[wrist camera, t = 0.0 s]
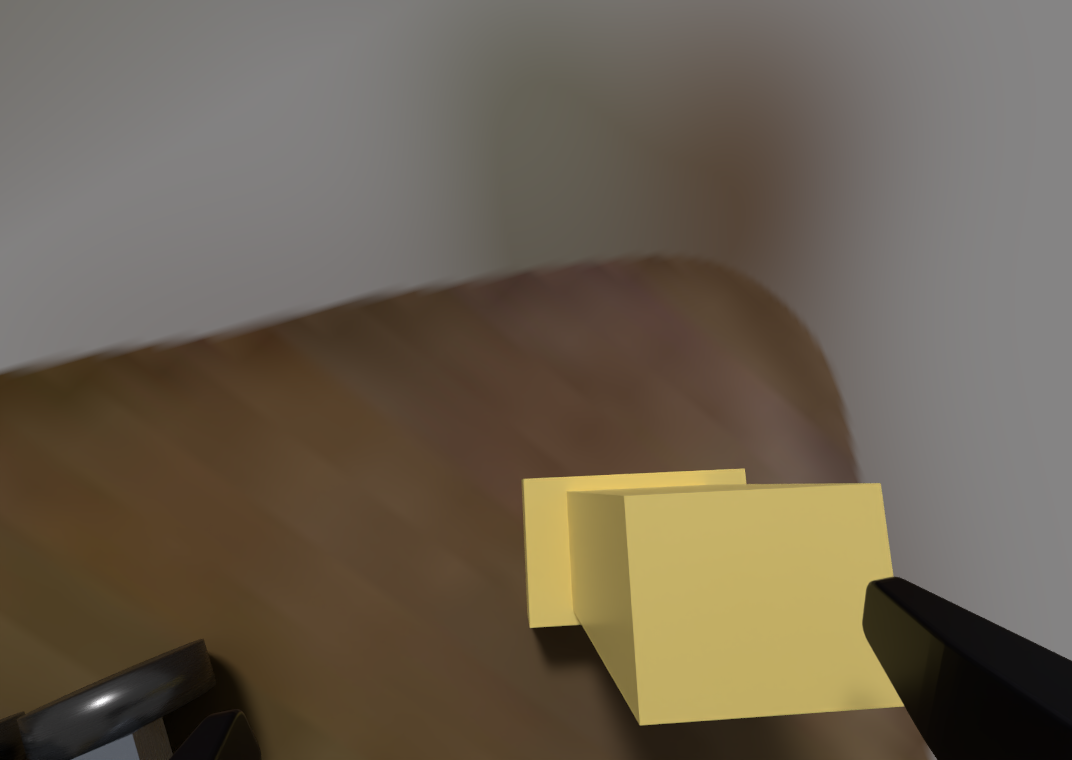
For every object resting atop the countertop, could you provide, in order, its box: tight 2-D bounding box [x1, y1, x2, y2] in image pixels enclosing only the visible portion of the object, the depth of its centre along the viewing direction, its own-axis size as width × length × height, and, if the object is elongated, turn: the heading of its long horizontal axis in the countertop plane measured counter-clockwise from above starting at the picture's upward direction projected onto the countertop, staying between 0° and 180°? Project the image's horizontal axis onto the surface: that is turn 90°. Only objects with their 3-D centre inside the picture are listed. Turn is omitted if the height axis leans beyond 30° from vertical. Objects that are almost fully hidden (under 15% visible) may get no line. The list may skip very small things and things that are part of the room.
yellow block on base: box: [522, 469, 904, 725], centre depth 18 cm, size 5×8×12 cm, turn 93°
